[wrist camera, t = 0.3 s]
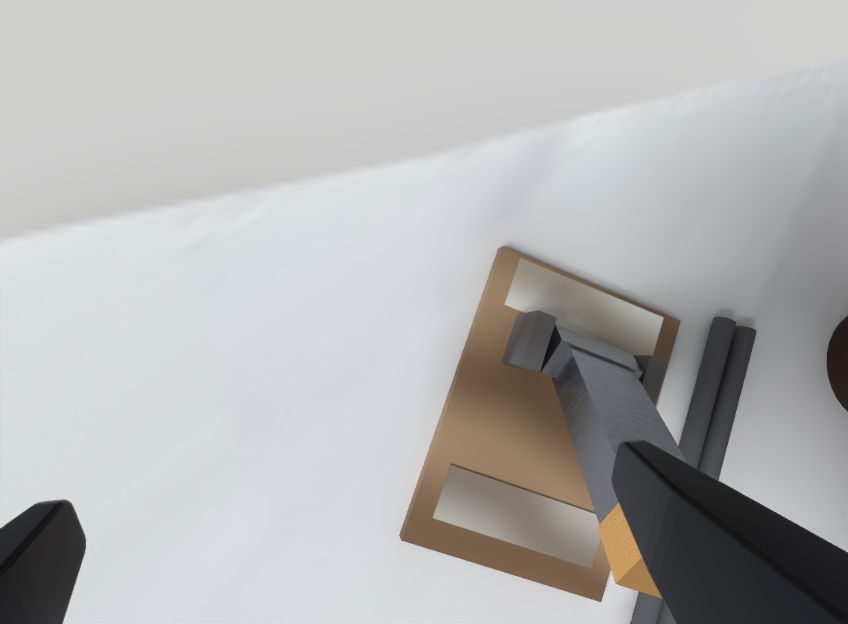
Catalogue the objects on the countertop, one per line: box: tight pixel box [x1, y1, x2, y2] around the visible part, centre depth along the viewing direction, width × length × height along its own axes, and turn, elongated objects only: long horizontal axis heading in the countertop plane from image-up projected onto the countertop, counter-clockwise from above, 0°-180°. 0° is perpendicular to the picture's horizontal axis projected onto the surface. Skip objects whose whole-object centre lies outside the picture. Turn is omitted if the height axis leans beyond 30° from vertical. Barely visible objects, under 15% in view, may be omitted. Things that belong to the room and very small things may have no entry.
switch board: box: [399, 246, 680, 602], centre depth 23 cm, size 14×10×3 cm
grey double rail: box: [631, 317, 757, 624], centre depth 25 cm, size 16×2×1 cm, turn 160°
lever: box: [540, 324, 688, 599], centre depth 18 cm, size 2×4×11 cm
